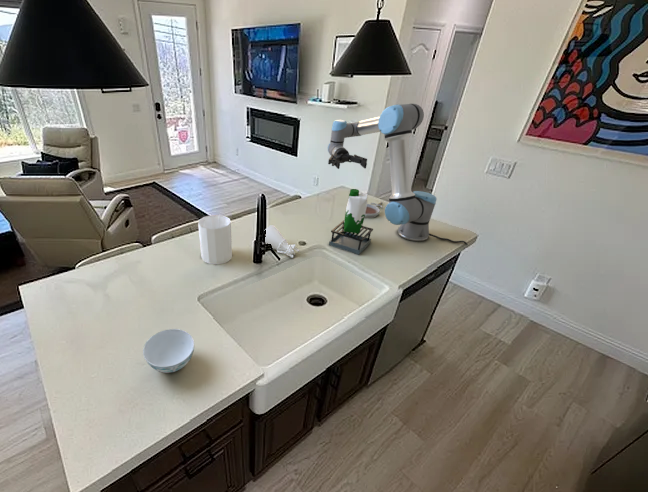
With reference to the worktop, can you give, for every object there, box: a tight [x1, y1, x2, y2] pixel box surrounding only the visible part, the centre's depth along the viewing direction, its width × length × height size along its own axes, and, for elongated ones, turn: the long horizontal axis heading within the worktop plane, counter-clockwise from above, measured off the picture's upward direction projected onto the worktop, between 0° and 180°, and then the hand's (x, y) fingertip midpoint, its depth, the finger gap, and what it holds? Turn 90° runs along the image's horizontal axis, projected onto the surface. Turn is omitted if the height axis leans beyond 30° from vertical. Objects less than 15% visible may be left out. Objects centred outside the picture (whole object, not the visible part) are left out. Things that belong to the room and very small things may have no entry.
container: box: [197, 214, 233, 265], centre depth 151 cm, size 14×14×18 cm
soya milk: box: [343, 188, 368, 235], centre depth 156 cm, size 9×9×20 cm
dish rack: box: [328, 220, 374, 255], centre depth 164 cm, size 16×15×8 cm
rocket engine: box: [265, 224, 301, 259], centre depth 158 cm, size 12×12×18 cm
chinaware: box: [142, 328, 195, 374], centre depth 100 cm, size 15×15×8 cm
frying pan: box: [364, 201, 383, 219], centre depth 201 cm, size 17×3×28 cm
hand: (352, 165), depth 163 cm, fingers open, 13 cm apart
